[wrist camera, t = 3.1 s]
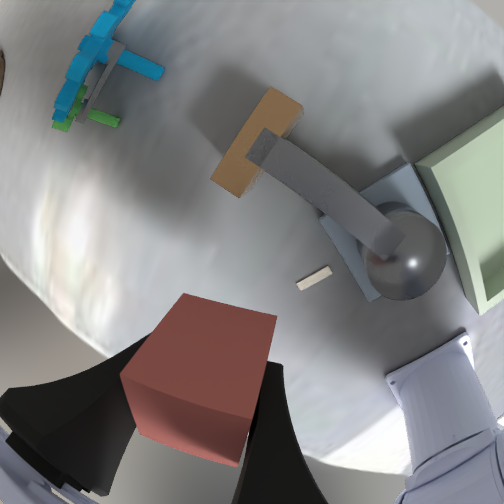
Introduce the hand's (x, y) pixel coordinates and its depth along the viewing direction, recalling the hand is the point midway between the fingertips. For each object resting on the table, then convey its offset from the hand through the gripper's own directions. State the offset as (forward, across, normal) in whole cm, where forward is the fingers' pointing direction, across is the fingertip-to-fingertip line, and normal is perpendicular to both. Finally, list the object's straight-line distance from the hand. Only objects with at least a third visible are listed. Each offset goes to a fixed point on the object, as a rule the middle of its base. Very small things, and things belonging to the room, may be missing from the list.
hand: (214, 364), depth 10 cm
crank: (+8, -4, -6) cm, 11 cm away
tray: (+8, -16, -9) cm, 20 cm away
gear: (+9, +11, -14) cm, 20 cm away
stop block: (+2, 0, 0) cm, 2 cm away
